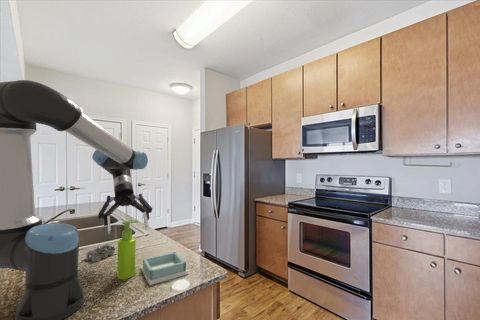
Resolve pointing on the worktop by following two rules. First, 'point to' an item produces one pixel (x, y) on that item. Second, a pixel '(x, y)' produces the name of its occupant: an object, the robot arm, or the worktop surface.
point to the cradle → (163, 268)
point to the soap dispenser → (126, 252)
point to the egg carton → (100, 252)
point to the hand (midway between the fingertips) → (128, 229)
